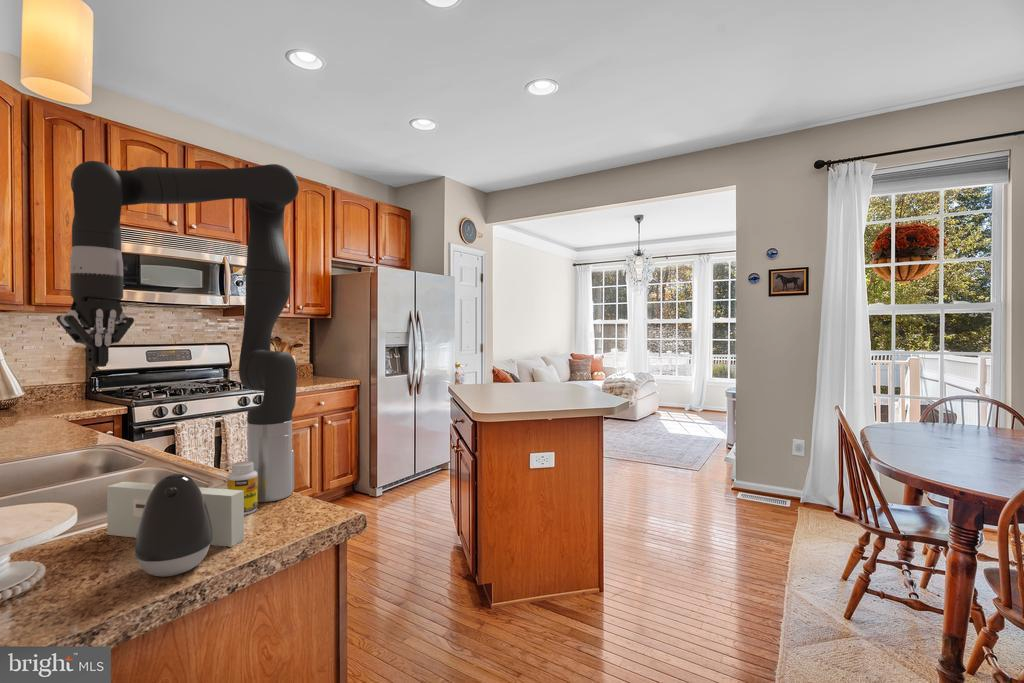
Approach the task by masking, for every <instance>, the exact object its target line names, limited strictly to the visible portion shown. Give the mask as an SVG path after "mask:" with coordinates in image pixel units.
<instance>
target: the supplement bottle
mask: <svg viewBox="0 0 1024 683" xmlns="http://www.w3.org/2000/svg"><path fill="white" fill-rule="evenodd" d="M253 468H254V467H253V462H251V461H247V460H245V461H238V462H234V463H232V464H231V472H230V473H229V474H228V475H227V478H226V480H227V481H226V484H227V485H226V487H227V488H226V489H229V490H242V491H244V516H248V515H251V514H253V513H254V512H256V511H257V509H258V502H257V483H258V474H257V472H256V471H255V470H253ZM247 514H248V515H247Z"/></svg>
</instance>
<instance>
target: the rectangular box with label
mask: <svg viewBox="0 0 1024 683" xmlns="http://www.w3.org/2000/svg"><path fill="white" fill-rule="evenodd" d="M156 484H157V483H147V482H135V481H120V482H117V483H114V484H110V485H107V486H106V491H107V492H106V493H107V494H106V497H107V499H106V500H107V502H106V508H107V510H106V511H107V515H106V516H107V520H106V521H107V524H106V525H107V527H106V528H107V531H106V532H107V535H108V536H115V537H117V536H118V537H126V538H127V537H128V538H135V539H136V535H137V530H138V526H139V522H140V519H141V515H142V512H143V509H144V506H145V504H146V501H147V499H148V497H149V495H150V493H151V491H152V489H153V488H154V486H155V485H156ZM198 487H199V489H200V491H201V493H202V495H203V497H204V500H205V503H206V506H207V509H208V513H209V517H210V521H211V527H212V535H213V538H212V542H211V543H210V546H219V547H226V546H228V548H232V546H233V547H234V546H236V545H237V543H238V544H239V543H241V542H243V541H244V540H245V515H244V491H242V490H229V489H227V488H226V489H225V488H214V487H200V486H198ZM242 540H243V541H242Z"/></svg>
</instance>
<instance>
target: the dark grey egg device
mask: <svg viewBox="0 0 1024 683" xmlns="http://www.w3.org/2000/svg"><path fill="white" fill-rule="evenodd" d="M155 484H156V485H155V486H154V488H153V489H152V491H151V493H150V495H149V497H148V499H147V501H146V504H145V506H144V509H143V512H142V515H141V519H140V522H139V526H138V530H137V535H136V538H135V542H134V549H133V550H134V554H133V555H134V557H135V559H137V563H138V565H139V566H140V568H141V569H142V570H143V571H144V572H146V573H147V574H148V575H151V576H155V577H172V576H177V575H181V574H184V573H187V572H188V571H190V570H192V569H194V568H195V567H196V566H198V565H199V564H200V563H202V561H203V560H204V559H205V557H206V556H207V553H208V551H209V549H210V546H211V545H210V543H211V542H212V538H213V535H212V527H211V521H210V517H209V513H208V509H207V506H206V503H205V500H204V497H203V495H202V493H201V491H200V489H199V487H200V486H198V483H197V482H196V481H195V480H194V479H193V478H192V477H191V476H190V475H187V474H184V473H179V472H177V473H171V474H167V475H165V476H164V477H162V478H160V479H159V480H158V481H157V482H156V483H155Z"/></svg>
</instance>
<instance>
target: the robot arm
mask: <svg viewBox="0 0 1024 683" xmlns="http://www.w3.org/2000/svg"><path fill="white" fill-rule="evenodd" d="M70 188H71V191H72V196H73V219H72V223H71V253H70V258H69V259H70V260H69V265H70V266H69V269H70V270H69V273H70V281H69V284H70V288H69V289H70V290H69V291H70V293H69V294H70V297H71V298H72V302H71V305H70V310H69V311H67V312H66V313H65V314H62V315H61V314H59V315H57V316H56V321H57V322H58V323H59V325H60V327H62V329H64V331H65V332H66V333H67V334H68V335H69V336H70V338H71V339H72V340H73V341H74V343H76V344H81V345H84V346H85V347H86V362H87V364H88V365H89V367H90V368H100V367H106V366H107V365H108V363H109V361H110V360H109V357H110V356H109V355H110V354H109V351H110V350H109V347H110V346H111V345H113V344H115V343H116V344H117V343H120V341H121V340H122V339H123V337H124V336H125V335H126V333H128V330H129V329H130V328H131V326H132V325H133V324H134V322H135V319H134V318H133V317H130V316H127V315H126V314H125V313H124V312H123V311H124V308H123V307H122V304H121V300H123V299H124V261H123V256H122V230H121V229H122V228H121V214H122V207H123V206H124V207H125V206H134V205H140V204H141V205H142V204H155V205H160V204H161V205H172V204H173V205H177V204H178V205H181V204H184V205H185V204H197V203H206V202H212V201H213V202H214V201H220V200H231V199H232V200H234V199H237V200H238V199H244V200H245V199H246V201H247V210H248V211H247V212H248V229H249V230H248V238H247V239H248V240H247V252H246V266H245V267H246V268H245V305H244V306H245V308H244V322H243V333H242V340H241V346H240V353H239V361H238V376H239V380H240V383H241V384H242V385H243V387H244V388H245V389H246V390H249V391H256V392H263V397H262V398H263V399H262V402H261V403H260V404H259V405H257V406H254V407H251V408H250V409H249V410H247V413H246V414H247V415H246V420H247V421H246V422H247V423H246V426H247V427H246V428H247V429H246V430H247V432H246V433H247V438H246V441H247V442H246V446H247V448H246V449H247V450H246V451H247V452H246V453H247V455H246V458H247V460H246V461H251V462H253V467H254V468H253V470H255V471H256V472H257V474H258V483H257V503H265V502H266V503H267V502H275V501H279V500H284V499H285V498H288V497H289V496H291V495H292V493H293V491H294V490H295V451H294V449H293V412H294V410H295V406H296V402H297V401H296V399H297V385H298V383H297V381H298V371H297V370H298V369H297V368H298V367H297V363H296V360H295V359H294V357H293V355H292V354H290V353H289V352H287V351H279V350H276V351H275V350H271V342H272V341H271V340H272V335H273V334H272V333H273V330H274V327H275V324H276V322H277V320H278V319H279V317H280V315H281V314H282V312H283V311H284V309H285V307H286V305H287V303H288V300H289V299H290V294H291V281H292V280H291V277H292V275H291V274H292V273H291V272H292V270H291V263H290V261H291V260H290V258H289V253H288V250H287V246H286V243H285V238H284V218H285V209H286V206H287V205H290V204H291V203H292V202H293V201H294V200H295V199H296V198H297V196H298V194H299V190H300V184H299V181H298V179H297V177H296V175H295V174H294V172H293V171H292V170H291V169H289V168H287V167H286V166H284V165H280V164H275V163H271V164H262V165H254V166H246V167H234V168H233V167H231V168H193V167H191V168H188V167H171V166H169V167H168V166H167V167H165V166H164V167H163V166H141V167H137V168H134V169H129V170H127V169H126V170H123V169H122V170H118V169H117V170H115V169H114V167H112V166H111V165H110V164H109V165H108V164H107V163H105V162H102V161H98V160H87V161H84V162H82V163H80V164H78V165H77V166H76V167H75V168H74V170H73V171H72V174H71V180H70ZM290 492H292V493H290Z"/></svg>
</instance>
